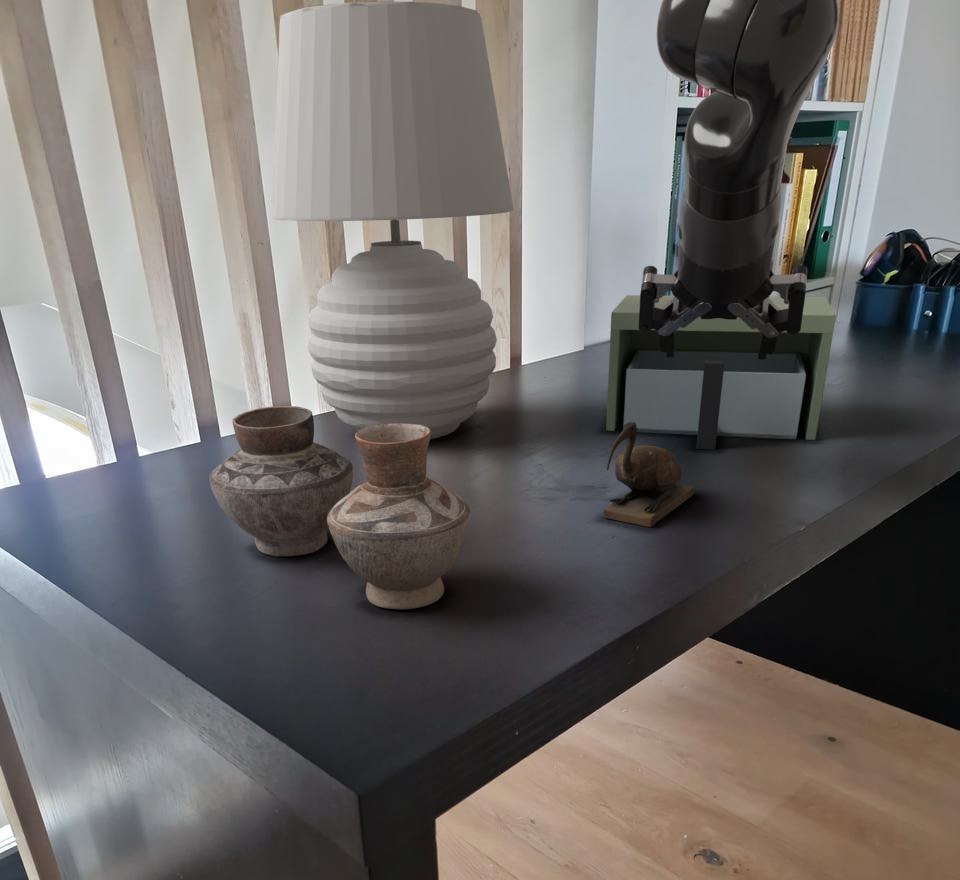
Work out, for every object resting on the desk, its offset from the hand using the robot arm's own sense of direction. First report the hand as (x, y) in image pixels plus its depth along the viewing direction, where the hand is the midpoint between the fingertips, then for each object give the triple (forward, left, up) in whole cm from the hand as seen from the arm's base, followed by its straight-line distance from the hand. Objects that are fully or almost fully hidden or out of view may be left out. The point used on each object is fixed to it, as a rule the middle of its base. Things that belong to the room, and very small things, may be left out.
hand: (715, 350), depth 83 cm
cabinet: (+9, -15, -11) cm, 21 cm away
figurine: (-4, +16, -11) cm, 20 cm away
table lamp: (+33, +12, -11) cm, 37 cm away
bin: (+7, -12, -11) cm, 18 cm away
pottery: (+6, +41, -11) cm, 43 cm away
